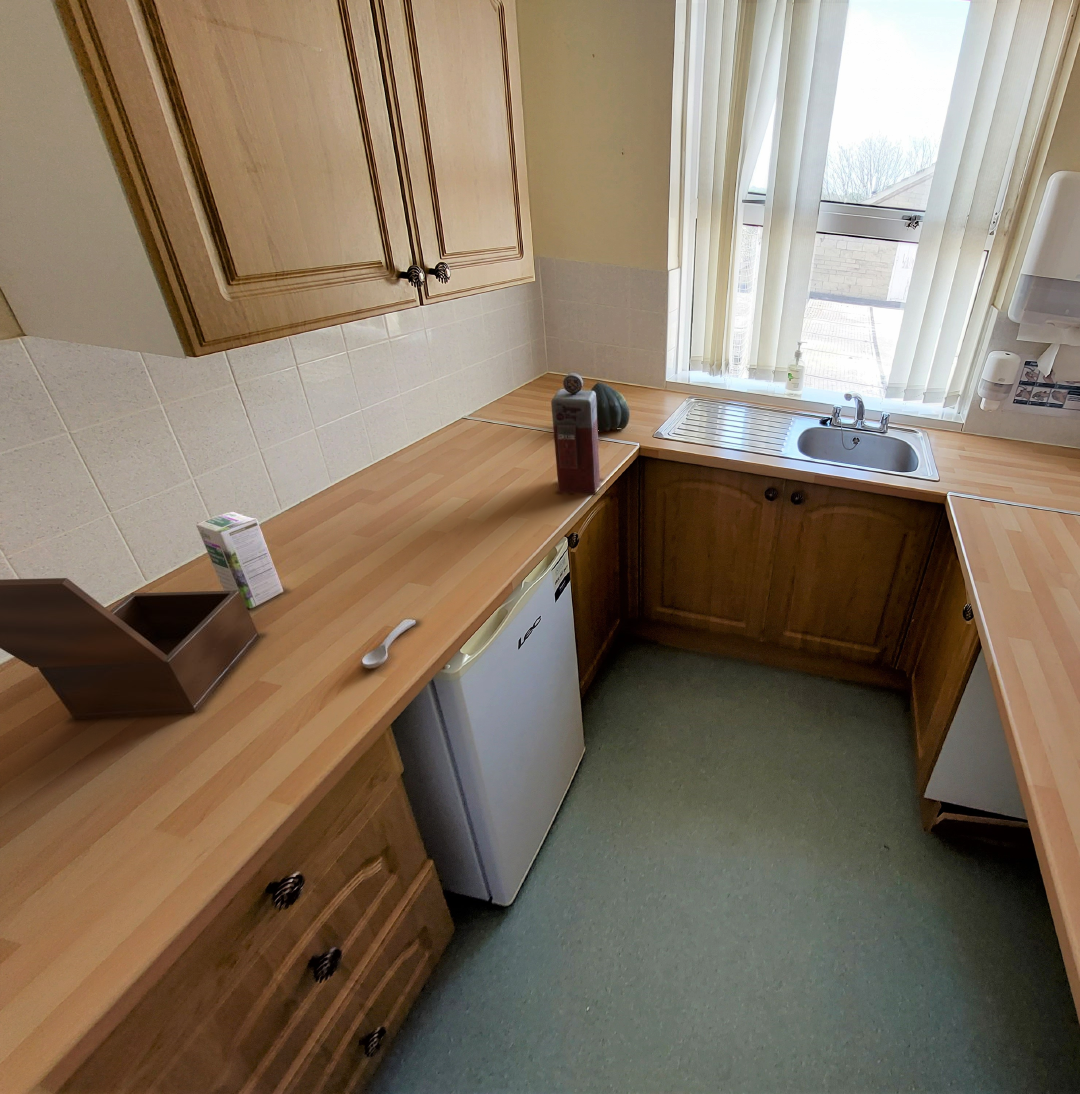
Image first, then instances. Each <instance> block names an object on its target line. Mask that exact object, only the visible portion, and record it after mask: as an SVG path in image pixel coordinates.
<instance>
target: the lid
mask: <svg viewBox="0 0 1080 1094" xmlns="http://www.w3.org/2000/svg"><path fill="white" fill-rule="evenodd" d="M0 650H3V651H4V652H6V653H7V654H9V655H11V656H12V657H14V658H16V659H17V660H19V661H21V662H23V663H24V664H26V665H28V666H30V667H31V668H38V667H54V666H76V665H98V664H120V663H142V662H164V661H165V660H166V658H167V655H165V654H164V653H163V652H162V651H160V650H159V649H158V648H156V647H155V646H154V645H153V644H151V643H150V642H149V641H147V640H146V639H145V638H144V637H142V636H141V635H140V634H138V633H137V632H136V631H135V630H133V629H132V628H131V627H129V626H128V625H127V624H126V623H124V622H123V621H122V620H120V619H119V618H118V617H117V616H115V615H114V614H113V613H111V612H110V610H109V609H107V608H106V607H105V606H104V605H103V604H102V603H100V602H99V601H97V599H95V598H94V597H92V596H91V595H90V594H88V593H87V592H86V591H84V590H83V589H82V588H81V587H79V586H78V585H77V584H76V583H75V582H73V581H72V580H70V579H69V578H68V577H51V578H49V577H47V578H8V579H7V578H6V579H5V578H3V579H0Z"/></svg>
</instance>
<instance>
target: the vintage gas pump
mask: <svg viewBox="0 0 1080 1094" xmlns="http://www.w3.org/2000/svg"><path fill="white" fill-rule="evenodd" d="M562 382H563V383H562V385H563V388H559V389H558V390H557V391H556V392H555V394H554V396H553V397H552V399H551V400H550V405H551V417H552V429H553V430H552V431H553V442H554V452H555V464H556V475H557V476H556V477H557V488H558V493H559V494H582V495H585V494H586V495H596V494H597V490H598V487H599V484H600V481H601V480H600V455H599V435H598V434H599V432H598V430H597V407H596V393H595V392H594V391H590V390H591V389H589V390H587V389H582V388H583V387H584V380H583V378H582V377H581V375H580V374H578V373H577V372H576V373H575V372H570V373H568V374H567V375H566V376H565V377H564V379H563V381H562Z"/></svg>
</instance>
